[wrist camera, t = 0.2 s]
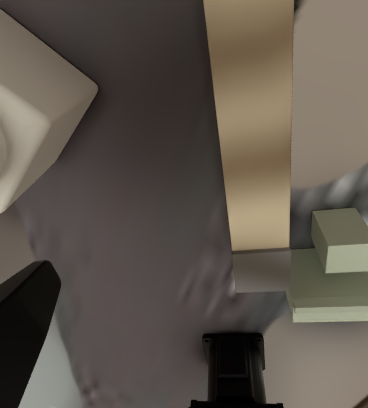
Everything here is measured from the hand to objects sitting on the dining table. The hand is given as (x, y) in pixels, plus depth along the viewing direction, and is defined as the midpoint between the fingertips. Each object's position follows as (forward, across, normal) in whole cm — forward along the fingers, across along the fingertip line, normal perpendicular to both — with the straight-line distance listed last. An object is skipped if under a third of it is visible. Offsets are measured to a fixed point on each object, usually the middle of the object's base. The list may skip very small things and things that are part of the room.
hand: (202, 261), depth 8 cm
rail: (+14, -2, +2) cm, 14 cm away
